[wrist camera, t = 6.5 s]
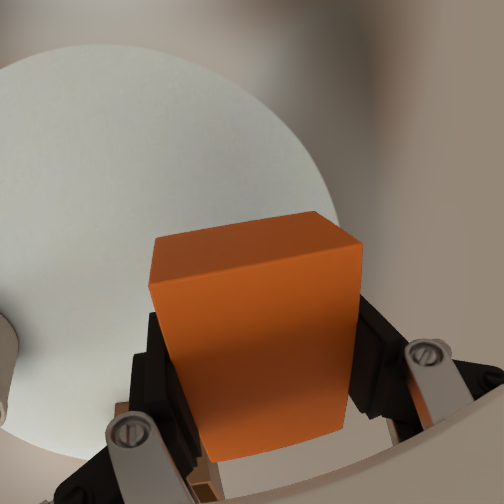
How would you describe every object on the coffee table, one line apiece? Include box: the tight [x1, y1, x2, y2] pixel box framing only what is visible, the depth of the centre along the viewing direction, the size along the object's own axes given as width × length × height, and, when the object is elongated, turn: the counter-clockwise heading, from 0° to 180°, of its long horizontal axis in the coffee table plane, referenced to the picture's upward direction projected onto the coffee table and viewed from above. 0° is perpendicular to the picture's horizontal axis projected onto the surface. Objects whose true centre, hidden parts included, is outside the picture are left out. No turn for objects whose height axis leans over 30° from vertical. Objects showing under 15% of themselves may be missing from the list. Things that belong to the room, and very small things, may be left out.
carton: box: [114, 402, 225, 503], centre depth 35 cm, size 12×11×14 cm
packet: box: [148, 211, 363, 463], centre depth 10 cm, size 8×5×3 cm, turn 6°
